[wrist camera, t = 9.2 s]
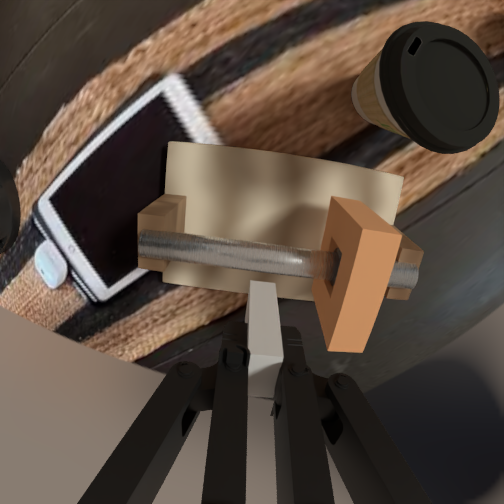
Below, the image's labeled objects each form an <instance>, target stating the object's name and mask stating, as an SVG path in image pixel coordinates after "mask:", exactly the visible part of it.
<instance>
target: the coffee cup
mask: <svg viewBox="0 0 504 504" xmlns="http://www.w3.org/2000/svg"><path fill="white" fill-rule="evenodd" d="M351 97H352V102H353V105H354V107H355V109H356V111H357V112H358V114H359V115H360V116H361V117H362V118H363V119H364V120H366V121H368V122H369V123H372V124H375V125H377V126H379V127H381V128H383V129H386V130H389V131H391V132H394V133H397V134H399V135H402V136H404V137H407V138H410V139H412V140H413V141H415V142H416V143H417V144H419V145H420V146H422V147H424V148H426V149H428V150H430V151H433V152H437V153H442V154H454V153H459V152H463V151H466V150H468V149H470V148H472V147H473V146H475V145H476V144H477V143H479V142H480V141H482V140H483V139H484V138H485V137H486V136H488V135H489V133H490V132H491V130H492V129H493V127H494V125H495V122H496V119H497V116H498V111H499V89H498V84H497V80H496V77H495V73H494V71H493V69H492V66H491V64H490V62H489V61H488V59H487V57H486V56H485V54H484V53H483V51H482V50H481V49H480V48H479V46H478V45H477V44H476V43H475V42H474V41H473V40H472V39H470V38H469V37H468V36H467V35H465V34H464V33H462V32H461V31H459V30H457V29H455V28H452V27H450V26H445V25H442V24H439V23H434V22H428V21H425V22H413V23H410V24H407V25H404V26H402V27H400V28H399V29H397V30H396V31H394V32H393V33H392V35H391V36H390V37H389V38H388V39H387V41H386V43H385V45H384V47H383V49H382V50H381V51H380V52H379V53H378V54H377V55H376V56H375V57H374V58H373V60H372V61H371V62H370V63H369V64H368V65H367V66H366V67H365V68H364V70H363V71H362V72H361V74H360V76H359V77H358V78H357V79H356V80H355V82H354V84H353V87H352V92H351Z"/></svg>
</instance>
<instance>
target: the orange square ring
mask: <svg viewBox="0 0 504 504" xmlns="http://www.w3.org/2000/svg"><path fill="white" fill-rule="evenodd" d="M401 238H402V235H401V234H400V233H399V232H398V231H397V230H395V229H394V228H393V227H392V226H391V225H390V224H388V223H387V222H386V221H385V220H384V219H382V218H381V217H380V216H379V215H377V214H376V213H375V212H374V211H373V210H371V209H370V208H369V207H368V206H366V205H365V204H364V203H363V202H361V201H359V200H353V199H347V198H342V197H336V196H331V199H330V205H329V210H328V215H327V220H326V225H325V230H324V235H323V239H322V244H321V249H320V250H321V251H329V252H334V250H335V249H336V248H339V249H340V251H341V252H342V257H341V261H340V265H339V269H338V273H337V276H336V280H335V284H334V286H332V285H331V283H330V281H329V280H321V279H314V280H313V284H312V289H311V290H312V294H313V297H314V301H315V304H316V308H317V312H318V316H319V319H320V323H321V327H322V331H323V334H324V338H325V342H326V346H327V350H328V351H339V352H362V353H363V350H364V348H365V345H366V343H367V340H368V338H369V335H370V333H371V330H372V327H373V325H374V322H375V319H376V317H377V314H378V311H379V308H380V305H381V303H382V300H383V297H384V294H385V291H386V288H387V285H388V282H389V279H390V276H391V272H392V269H393V266H394V263H395V259H396V256H397V253H398V249H399V246H400V242H401Z"/></svg>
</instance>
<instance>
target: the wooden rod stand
mask: <svg viewBox="0 0 504 504" xmlns="http://www.w3.org/2000/svg"><path fill="white" fill-rule="evenodd" d="M403 179H404V177H402V176H399V175H395V174H391V173H386V172H382V171H378V170H373V169H369V168H364V167H359V166H354V165H349V164H344V163H339V162H334V161H329V160H323V159H317V158H312V157H306V156H299V155H293V154H286V153H280V152H273V151H265V150H258V149H249V148H241V147H232V146H222V145H212V144H200V143H187V142H172V141H171V142H168V153H167V166H166V181H165V194H164V195H162V196H161V197H160V198H158V199H157V200H155V201H154V202H153V203H151V204H150V205H149V206H147V207H146V208H145V209H143V210H142V211H141V212H139V213H138V242H139V237H140V234H141V231H142V230H143V229H147V230H155V231H164V232H165V231H171V232H179V233H188V234H196V235H204V236H212V237H220V238H228V239H236V240H244V241H252V242H260V243H267V244H275V245H283V246H291V247H298V248H306V249H313V250H320V249H321V244H322V239H323V235H324V230H325V225H326V220H327V215H328V210H329V205H330V199H331V196H336V197H342V198H347V199H353V200H359V201H361V202H363V203H364V204H365V205H366V206H368V207H369V208H370V209H371V210H373V211H374V212H375V213H376V214H377V215H379V216H380V217H381V218H382V219H384V220H385V221H386V222H387V223H388V224H390V225H391V226H392V227H393V228H394V229H395V230H397V231H398V232H399V233H400V234H401V235H402V238H401V242H400V246H399V249H398V253H397V256H396V259H395V261H398V262H403V263H410V264H416V266H417V268H418V269H419V266H420V263H421V260H422V257H423V253H424V251H423V250H421V249H420V248H419V247H418V246H417V245H416V244H415V243H413V242H412V241H411V240H410V239H409V238H408V237H407V236H405V235H404V234H403V233H402V232H401V231H399V230H398V229H397V228H396V227H395V226H393V223H394V219H395V215H396V211H397V207H398V202H399V198H400V193H401V189H402V184H403ZM138 268H141V269H148V270H154V271H161V272H163V282H166V283H173V284H180V285H187V286H194V287H201V288H208V289H215V290H223V291H230V292H238V293H246V294H248V293H249V286H250V280H252V281H261V282H270V283H275V285H276V294H277V297H280V298H289V299H298V300H307V301H314V297H313V294H312V290H311V289H312V284H313V280H314V279H312V278H304V277H295V276H287V275H278V274H270V273H262V272H254V271H246V270H238V269H230V268H223V267H215V266H207V265H200V264H192V263H185V262H178V261H170V260H163V259H156V258H149V257H142V256H140V255H139V251H138ZM410 292H411V289H404V288H394V287H387V288H386V291H385V294H384V295H385V297H386V298H390V299H401V300H408V298H409V295H410Z"/></svg>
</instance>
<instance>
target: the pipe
mask: <svg viewBox="0 0 504 504" xmlns="http://www.w3.org/2000/svg"><path fill="white" fill-rule="evenodd" d="M138 251H139V255H140V256H142V257H149V258H156V259H163V260H170V261H178V262H185V263H192V264H200V265H207V266H215V267H223V268H230V269H238V270H246V271H254V272H262V273H270V274H278V275H287V276H295V277H304V278H312V279H321V280H329V281H330V283H331V285H332V286H334V284H335V280H336V276H337V273H338V269H339V265H340V261H341V257H342V252H341V251H340V249H339V248H336V249H335V250H334V252H329V251H321V250H313V249H306V248H298V247H291V246H283V245H275V244H267V243H260V242H252V241H244V240H236V239H228V238H220V237H212V236H204V235H196V234H188V233H179V232H171V231H165V232H164V231H155V230H147V229H143V230H142V231H141V234H140V237H139V242H138ZM417 280H418V268H417V266H416V264H410V263H403V262H398V261H395V263H394V266H393V269H392V272H391V276H390V279H389V282H388V285H387V287H394V288H404V289H413V288H414V287H415V285H416V283H417Z"/></svg>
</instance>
